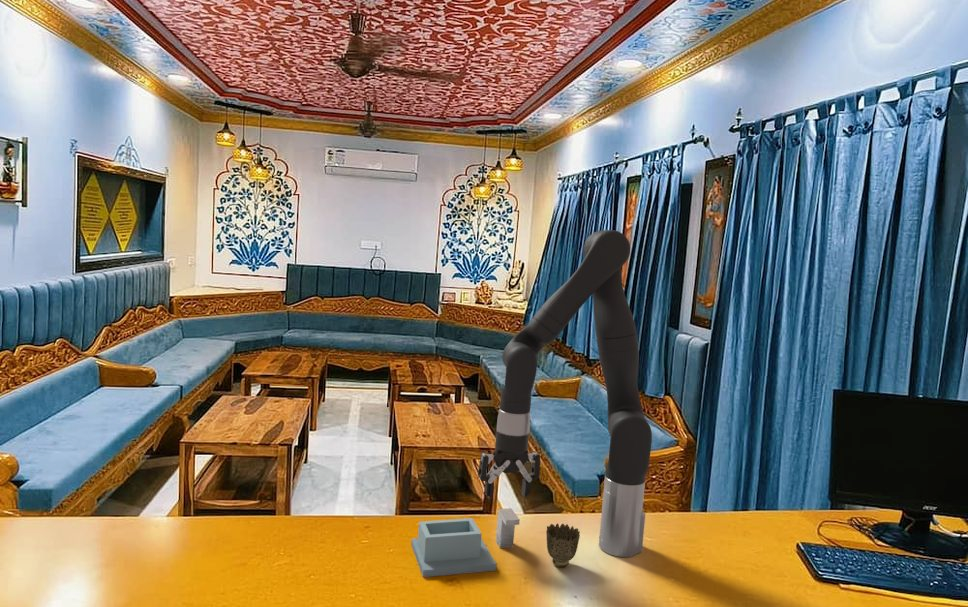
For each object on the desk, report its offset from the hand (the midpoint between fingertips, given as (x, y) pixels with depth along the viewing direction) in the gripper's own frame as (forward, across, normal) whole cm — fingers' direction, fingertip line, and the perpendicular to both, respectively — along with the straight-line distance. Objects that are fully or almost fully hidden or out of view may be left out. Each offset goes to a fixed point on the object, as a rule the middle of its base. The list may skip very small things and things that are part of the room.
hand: (506, 496), depth 149 cm
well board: (+12, +13, +4) cm, 18 cm away
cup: (+12, -10, +11) cm, 19 cm away
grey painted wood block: (+11, 0, +2) cm, 12 cm away
